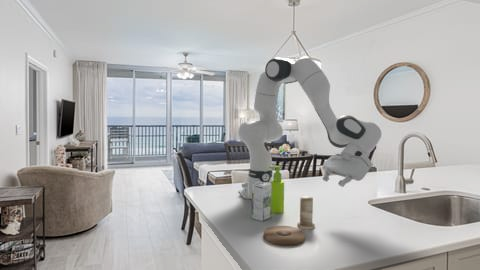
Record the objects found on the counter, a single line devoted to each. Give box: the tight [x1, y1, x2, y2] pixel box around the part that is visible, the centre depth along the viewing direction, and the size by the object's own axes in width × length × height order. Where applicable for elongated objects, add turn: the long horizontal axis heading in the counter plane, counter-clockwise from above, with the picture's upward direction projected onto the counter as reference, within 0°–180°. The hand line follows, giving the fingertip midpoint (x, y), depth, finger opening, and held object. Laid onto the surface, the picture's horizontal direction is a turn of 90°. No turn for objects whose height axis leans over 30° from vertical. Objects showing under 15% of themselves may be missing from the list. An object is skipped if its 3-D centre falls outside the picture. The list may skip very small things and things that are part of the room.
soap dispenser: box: [269, 165, 285, 214], centre depth 131 cm, size 6×7×20 cm
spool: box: [297, 195, 316, 231], centre depth 114 cm, size 6×6×11 cm
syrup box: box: [251, 182, 272, 222], centre depth 122 cm, size 6×6×14 cm
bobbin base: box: [263, 225, 306, 247], centre depth 104 cm, size 14×14×2 cm
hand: (332, 182), depth 117 cm, fingers open, 8 cm apart
